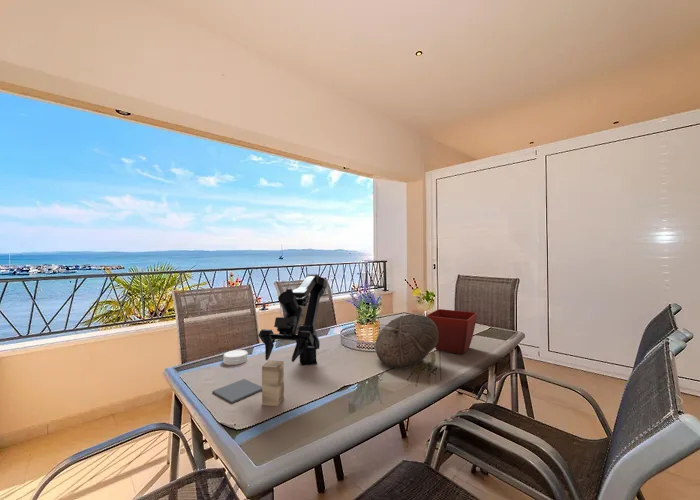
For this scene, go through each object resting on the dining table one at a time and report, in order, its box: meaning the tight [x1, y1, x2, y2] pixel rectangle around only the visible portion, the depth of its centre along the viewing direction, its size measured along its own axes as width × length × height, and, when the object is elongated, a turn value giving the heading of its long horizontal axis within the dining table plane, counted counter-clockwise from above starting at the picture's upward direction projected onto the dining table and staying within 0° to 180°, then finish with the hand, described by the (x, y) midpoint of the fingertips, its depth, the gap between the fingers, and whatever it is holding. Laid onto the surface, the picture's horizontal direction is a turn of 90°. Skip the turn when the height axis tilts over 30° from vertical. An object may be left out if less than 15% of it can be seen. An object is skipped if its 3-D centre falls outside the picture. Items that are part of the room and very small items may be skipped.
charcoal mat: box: [212, 378, 262, 404], centre depth 102 cm, size 12×12×1 cm
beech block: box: [261, 359, 285, 407], centre depth 95 cm, size 5×5×12 cm
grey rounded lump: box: [375, 314, 439, 369], centre depth 128 cm, size 28×23×25 cm
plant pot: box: [426, 308, 478, 355], centre depth 145 cm, size 19×19×17 cm
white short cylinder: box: [222, 349, 249, 366], centre depth 131 cm, size 10×10×4 cm
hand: (279, 360), depth 99 cm, fingers open, 9 cm apart
